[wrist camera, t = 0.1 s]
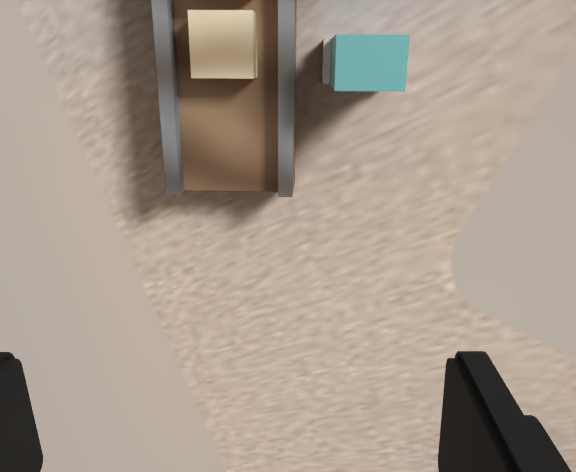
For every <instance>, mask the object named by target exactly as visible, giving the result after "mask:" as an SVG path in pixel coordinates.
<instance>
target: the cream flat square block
mask: <svg viewBox="0 0 576 472" xmlns="http://www.w3.org/2000/svg"><path fill="white" fill-rule="evenodd" d="M188 29H189V47H190V65H191V78H232V79H254V78H257V13H255V12H254V11H253V10H188Z"/></svg>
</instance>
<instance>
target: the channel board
mask: <svg viewBox="0 0 576 472" xmlns="http://www.w3.org/2000/svg"><path fill="white" fill-rule="evenodd" d="M151 5H152V18H153V31H154V44H155V57H156V71H157V84H158V97H159V110H160V123H161V136H162V149H163V162H164V175H165V188H166V195H181V194H182V193H183V191H184V190H213V191H275V192H278V197H292V196H293V188H294V181H295V97H296V0H151ZM188 10H253V11H254V12H255V13H257V78H254V79H232V78H191V65H190V47H189V29H188Z"/></svg>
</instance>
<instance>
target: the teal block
mask: <svg viewBox="0 0 576 472" xmlns="http://www.w3.org/2000/svg"><path fill="white" fill-rule="evenodd" d="M408 48H409V35H335V36H334V37H333V38H332V39H324V40H323V66H322V84H330V85H331V87H332V88H333V90H334V91H392V92H405V85H406V73H407V60H408Z"/></svg>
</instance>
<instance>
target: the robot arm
mask: <svg viewBox="0 0 576 472" xmlns="http://www.w3.org/2000/svg"><path fill="white" fill-rule="evenodd" d="M42 463H43V454H42V450H41V445H40V441H39V437H38V433H37V429H36V424H35V420H34V415H33V411H32V406H31V402H30V398H29V393H28V390H27V385H26V380H25V376H24V372H23V368H22V364H21V362H20V360H19V359H15V357H14V356H13V355H12V354H11V353H9V352H0V472H40V471H41V467H42ZM438 469H439V472H571V470H570V469H569V467H568V466H567V464H566V462H565V461H564V459H563V458H562V456H561V455H560V453H559V451H558V450H557V448H556V447H555V445H554V444H553V442H552V440H551V439H550V437H549V436H548V434H547V432H546V431H545V429H544V428H543V426H542V425H541V423H540V422H539V421H538V419H537V418H536V417H534V416H532V415H524V414H523V413H522V411H521V409H520V408H519V406H518V405H517V403H516V401H515V400H514V398H513V396H512V395H511V393H510V391H509V390H508V388H507V386H506V385H505V383H504V381H503V380H502V378H501V376H500V375H499V373H498V371H497V370H496V368H495V366H494V365H493V363H492V361H491V360H490V358H489V356H488V355H487V353H486V352H483V351H458V352H457V353H456V355H455V358H448V359H447V362H446V372H445V383H444V395H443V407H442V419H441V430H440V442H439V454H438Z"/></svg>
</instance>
